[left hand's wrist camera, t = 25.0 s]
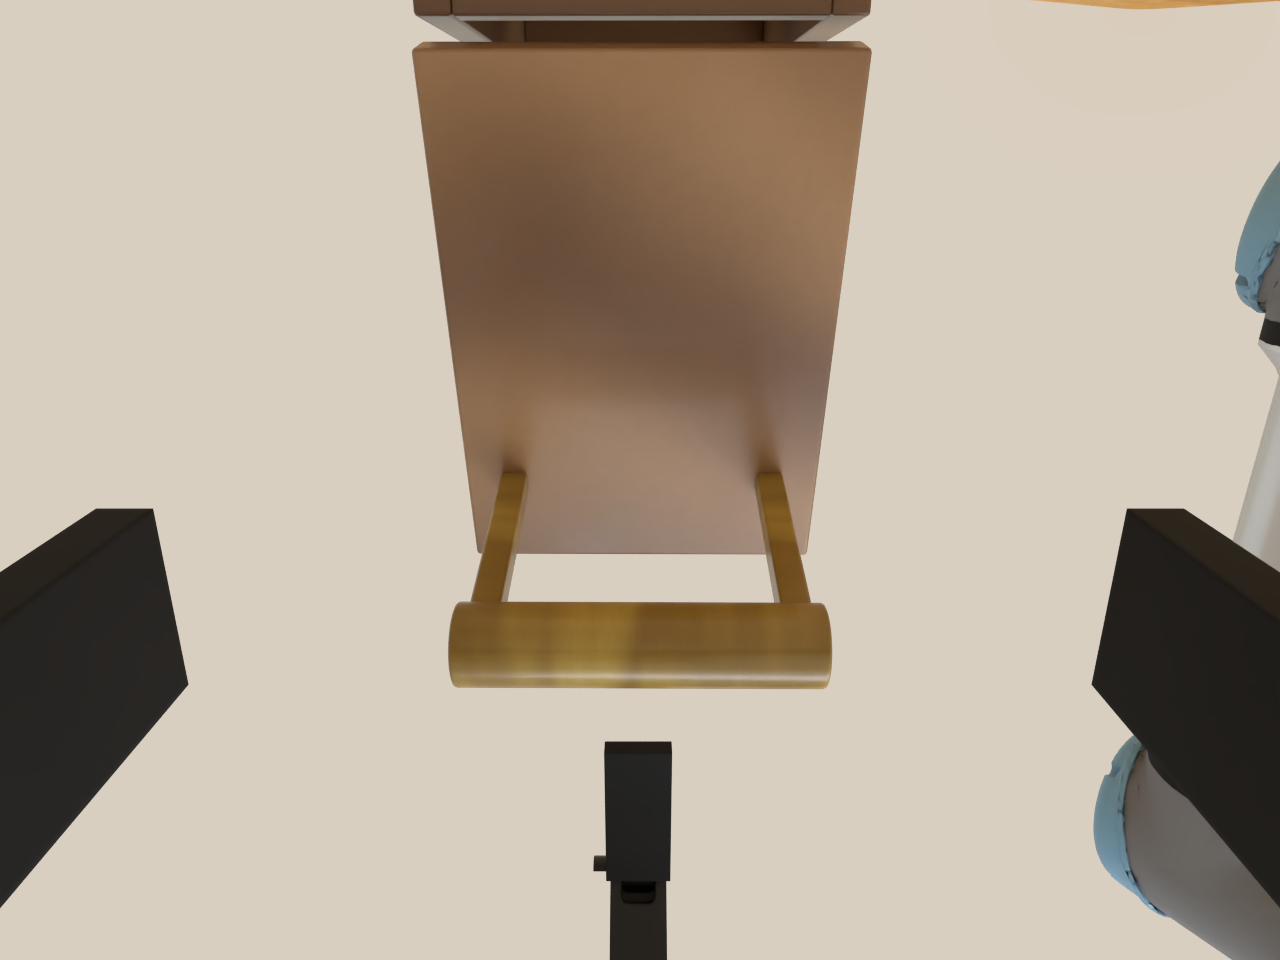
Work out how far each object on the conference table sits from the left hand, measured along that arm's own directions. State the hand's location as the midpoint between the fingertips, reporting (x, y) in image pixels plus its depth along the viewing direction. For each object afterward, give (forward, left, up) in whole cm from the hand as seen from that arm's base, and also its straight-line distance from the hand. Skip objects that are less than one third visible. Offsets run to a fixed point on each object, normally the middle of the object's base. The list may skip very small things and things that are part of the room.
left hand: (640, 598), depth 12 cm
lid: (+10, -6, -1) cm, 12 cm away
